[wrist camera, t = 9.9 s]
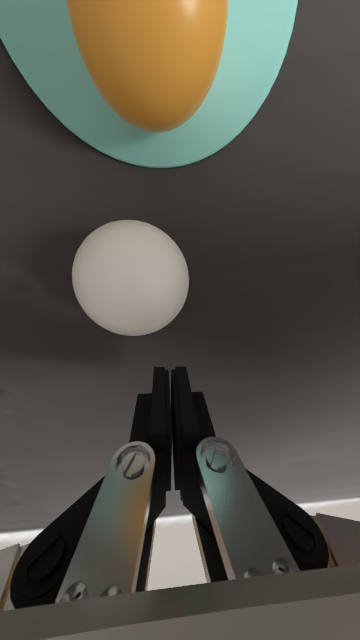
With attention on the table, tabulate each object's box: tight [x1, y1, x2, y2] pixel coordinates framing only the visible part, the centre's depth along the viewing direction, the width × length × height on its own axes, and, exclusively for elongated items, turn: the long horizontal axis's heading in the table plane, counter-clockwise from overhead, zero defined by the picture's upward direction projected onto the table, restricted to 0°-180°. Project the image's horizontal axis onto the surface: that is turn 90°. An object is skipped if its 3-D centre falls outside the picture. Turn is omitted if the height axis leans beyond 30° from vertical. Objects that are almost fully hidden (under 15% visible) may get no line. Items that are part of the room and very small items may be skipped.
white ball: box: [72, 220, 189, 336], centre depth 10 cm, size 6×6×6 cm
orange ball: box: [66, 0, 228, 133], centre depth 7 cm, size 6×6×6 cm
